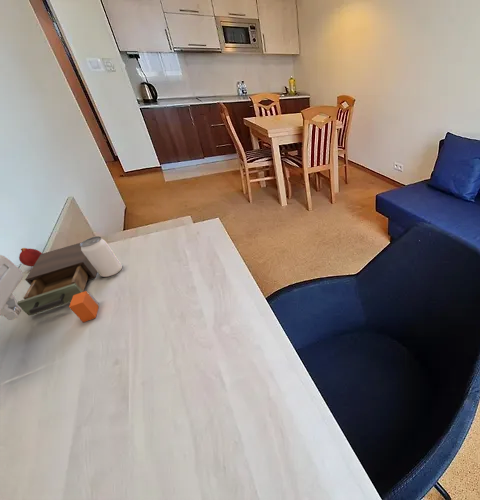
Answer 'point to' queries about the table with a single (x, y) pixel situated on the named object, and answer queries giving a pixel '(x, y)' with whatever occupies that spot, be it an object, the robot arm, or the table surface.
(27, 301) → the drawer
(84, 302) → the orange wooden toy brick
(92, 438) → the table surface
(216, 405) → the table surface
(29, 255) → the onion
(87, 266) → the cabinet
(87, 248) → the can
